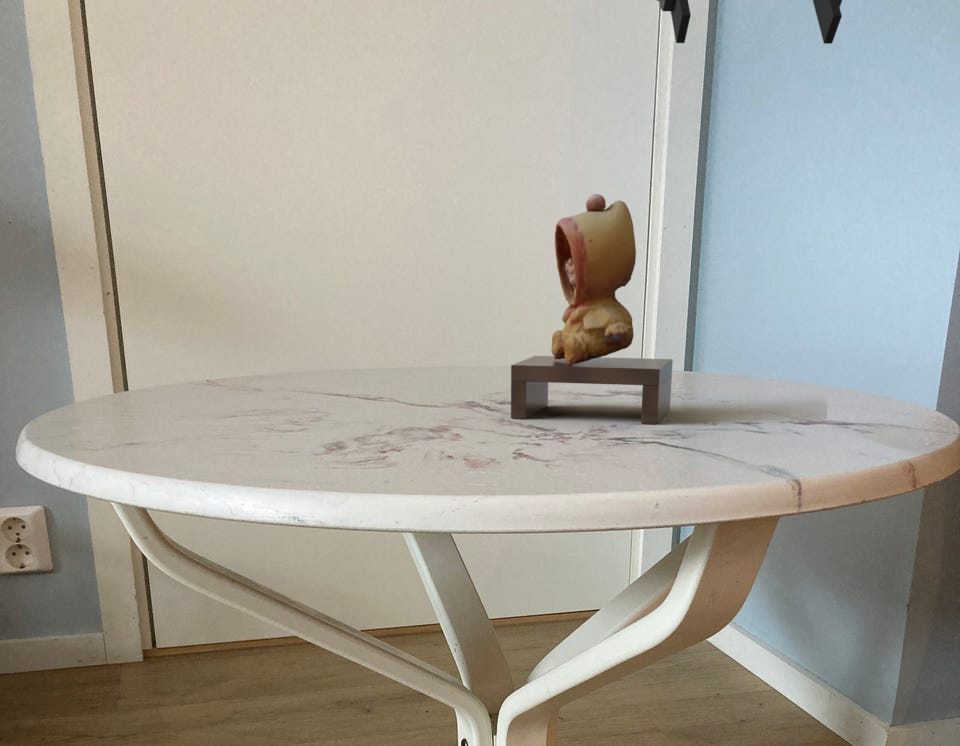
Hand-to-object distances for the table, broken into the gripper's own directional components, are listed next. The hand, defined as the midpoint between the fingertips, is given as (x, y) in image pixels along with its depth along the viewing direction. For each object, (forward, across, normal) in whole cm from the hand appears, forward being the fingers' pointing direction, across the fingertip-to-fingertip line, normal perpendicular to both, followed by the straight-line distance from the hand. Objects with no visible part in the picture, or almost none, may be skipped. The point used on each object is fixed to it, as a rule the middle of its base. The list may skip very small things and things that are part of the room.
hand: (758, 30), depth 99 cm
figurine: (+22, +14, -19) cm, 32 cm away
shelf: (+25, +14, -22) cm, 37 cm away
